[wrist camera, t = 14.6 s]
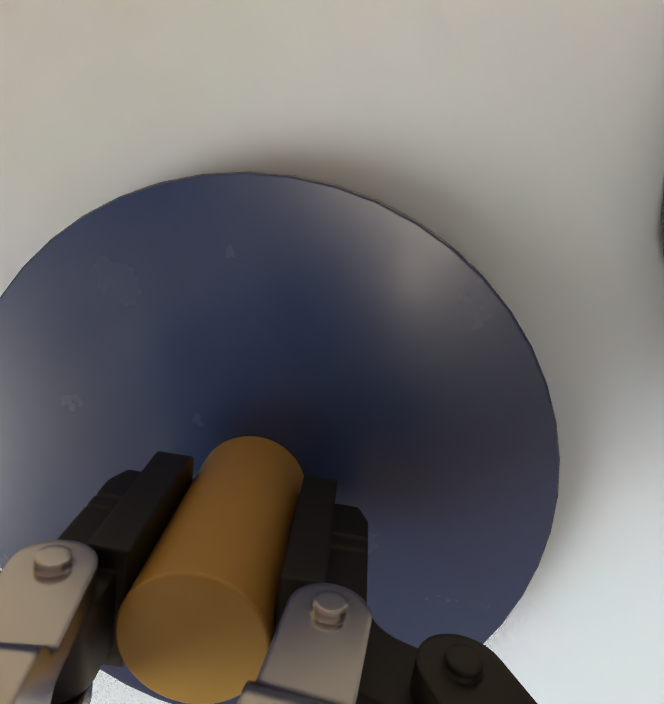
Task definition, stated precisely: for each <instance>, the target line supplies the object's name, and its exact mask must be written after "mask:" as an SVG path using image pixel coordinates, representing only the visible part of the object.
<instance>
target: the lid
mask: <svg viewBox="0 0 664 704" xmlns="http://www.w3.org/2000/svg"><path fill="white" fill-rule="evenodd" d="M158 451H162V452H168V453H175V454H181V455H187V456H192V457H193V459H194V471H193V482H192V484H191V486H190V487H189V489H188V491H187V492H186V494H185V496H184V497H183V499H182V501H181V503H180V504H179V506H178V508H177V509H176V511H175V513H174V515H173V516H172V518H171V520H170V521H169V523H168V525H167V527H166V528H165V530H164V532H163V533H162V535H161V537H160V539H159V540H158V542H157V544H156V545H155V547H154V549H153V551H152V552H151V554H150V556H149V557H148V559H147V561H146V562H145V564H144V566H143V568H142V569H141V571H140V573H139V574H138V576H137V578H136V580H135V581H134V583H133V585H132V586H131V588H130V590H129V592H128V593H127V595H126V597H125V598H124V600H123V602H122V604H121V606H120V608H119V611H118V614H117V617H116V624H115V636H116V642H117V647H118V650H119V653H120V655H121V657H122V659H123V661H124V665H123V667H122V668H121V667H115V666H109V665H103V664H102V666H101V668H100V669H101V670H102V671H104V672H106V673H107V674H109V675H111V676H112V677H114V678H116V679H118V680H119V681H121V682H123V683H124V684H126V685H128V686H130V687H132V688H135V689H137V690H139V691H141V692H143V693H146V694H148V695H150V696H152V697H154V698H157V699H159V700H162V701H165V702H168V703H171V704H236V703H237V701H238V699H239V696H240V694H241V692H242V689H243V687H244V685H245V684H246V682H247V681H248V680H252V681H256V679H257V676H258V674H259V671H260V669H261V667H262V664H263V662H264V659H265V657H266V654H267V652H268V649H269V647H270V644H271V642H272V639H273V637H274V633H275V625H274V620H275V613H276V606H277V599H278V592H279V585H280V578H281V573H282V569H283V564H284V560H285V556H286V552H287V547H288V543H289V539H290V534H291V530H292V526H293V521H294V517H295V513H296V508H297V504H298V500H299V495H300V491H301V487H302V482H303V478H304V475H309V476H315V477H321V478H327V479H333V480H337V489H336V497H335V504H341V505H348V506H354V507H359V509H360V510H361V512H362V513H363V515H364V516H365V518H366V519H367V521H368V553H367V554H368V570H367V604H368V606H369V608H370V610H371V615H372V618H373V620H374V621H375V622H376V624H377V625H378V626H379V627H380V628H381V629H383V630H384V631H385V632H386V633H388V634H389V635H391V636H392V637H394V638H396V639H398V640H400V641H402V642H404V643H407V644H409V645H412V646H414V647H416V648H419V646H420V645H421V643H422V642H423V641H424V640H426V639H427V638H429V637H431V636H434V635H437V634H457V635H462V636H465V637H468V638H471V639H474V640H476V641H478V642H480V643H482V644H483V643H484V642H485V641H486V640H487V639H488V638H489V637H490V636H491V635H492V634H493V633H494V632H495V631H496V630H497V629H498V628H499V627H500V626H501V624H502V623H503V622H504V621H505V619H506V618H507V616H508V615H509V614H510V612H511V611H512V609H513V608H514V607H515V605H516V604H517V603H518V601H519V600H520V598H521V597H522V596H523V594H524V592H525V590H526V588H527V586H528V584H529V582H530V581H531V579H532V577H533V575H534V573H535V571H536V569H537V567H538V565H539V563H540V560H541V557H542V554H543V552H544V549H545V546H546V543H547V540H548V538H549V535H550V532H551V528H552V523H553V518H554V513H555V508H556V503H557V498H558V484H559V465H560V456H559V446H558V435H557V425H556V419H555V415H554V411H553V407H552V403H551V398H550V394H549V390H548V386H547V383H546V380H545V378H544V376H543V373H542V371H541V368H540V366H539V363H538V361H537V358H536V356H535V353H534V351H533V349H532V346H531V345H530V343H529V341H528V339H527V338H526V336H525V334H524V333H523V331H522V329H521V327H520V326H519V324H518V322H517V321H516V319H515V317H514V316H513V314H512V312H511V311H510V309H509V308H508V307H507V306H506V304H505V303H504V302H503V301H502V299H501V298H500V297H499V295H498V294H497V293H496V292H495V290H494V289H493V288H492V287H491V285H490V284H489V283H488V282H487V280H486V279H485V278H484V277H483V276H482V275H481V274H480V273H479V272H478V271H477V270H476V269H475V268H474V267H473V266H472V265H471V264H469V263H468V262H467V261H466V260H465V259H464V258H463V257H462V256H461V255H460V254H459V253H458V252H457V251H456V250H455V249H454V248H453V247H452V246H450V245H449V244H448V243H446V242H445V241H444V240H442V239H441V238H439V237H438V236H437V235H435V234H434V233H432V232H431V231H430V230H428V229H427V228H425V227H424V226H423V225H421V224H420V223H419V222H417V221H416V220H414V219H412V218H410V217H408V216H406V215H404V214H403V213H401V212H399V211H397V210H395V209H393V208H391V207H389V206H388V205H386V204H384V203H382V202H380V201H378V200H376V199H373V198H370V197H368V196H365V195H362V194H359V193H357V192H354V191H351V190H349V189H346V188H343V187H341V186H338V185H334V184H330V183H325V182H321V181H316V180H312V179H307V178H303V177H298V176H294V175H283V174H271V173H259V172H233V173H215V174H201V175H196V176H191V177H185V178H180V179H175V180H170V181H165V182H160V183H157V184H154V185H151V186H148V187H146V188H143V189H140V190H137V191H134V192H131V193H128V194H126V195H123V196H120V197H118V198H116V199H114V200H112V201H110V202H108V203H106V204H105V205H103V206H101V207H99V208H97V209H95V210H93V211H91V212H89V213H87V214H85V215H83V216H82V217H81V218H79V219H78V220H77V221H75V222H74V223H72V224H71V225H70V226H68V227H67V228H66V229H64V230H63V231H61V232H60V233H59V234H57V235H56V236H55V237H53V238H52V239H51V240H50V241H49V242H48V243H46V244H45V245H44V246H43V247H42V248H41V249H40V250H39V251H38V252H37V253H36V254H35V255H34V256H33V257H32V258H31V259H30V260H29V261H28V262H27V263H26V264H25V265H24V266H23V267H22V269H21V270H20V271H19V273H18V274H17V275H16V277H15V278H14V279H13V281H12V282H11V284H10V285H9V286H8V288H7V289H6V290H5V292H4V293H3V294H2V296H1V297H0V567H1V569H2V570H3V568H4V567H5V565H6V564H7V562H8V561H9V560H10V559H11V557H12V556H13V555H15V554H16V553H17V552H18V551H20V550H22V549H23V548H25V547H28V546H30V545H32V544H35V543H39V542H43V541H48V540H57V539H58V538H59V537H60V535H61V534H62V533H63V532H64V531H65V530H66V528H67V527H68V526H69V525H70V524H71V523H72V521H73V520H74V519H75V518H76V517H77V516H78V514H79V513H80V512H81V511H82V510H83V509H84V508H85V507H87V504H88V503H89V502H90V501H91V499H92V498H93V497H94V496H96V495H97V492H98V491H99V490H100V489H101V488H102V487H103V485H104V484H105V483H106V482H107V481H108V480H109V479H111V478H112V477H114V476H116V475H118V474H120V473H122V472H124V471H126V470H128V469H129V470H135V471H141V472H142V470H143V469H144V468H145V466H146V465H147V464H148V463H149V461H150V460H151V459H152V457H153V456H154V455H155V453H156V452H158Z"/></svg>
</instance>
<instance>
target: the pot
mask: <svg viewBox="0 0 664 704" xmlns="http://www.w3.org/2000/svg"><path fill="white" fill-rule="evenodd" d="M662 235H663V255H664V194H663V205H662Z"/></svg>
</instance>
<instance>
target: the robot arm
mask: <svg viewBox="0 0 664 704" xmlns="http://www.w3.org/2000/svg"><path fill="white" fill-rule="evenodd" d="M193 471H194V459H193V457H192V456H187V455H181V454H175V453H168V452H162V451H158V452H156V453H155V455H154V456H153V457H152V459H151V460H150V461H149V463H148V464H147V465H146V466H145V468H144V469H143V470H142V472H141V471H135V470H129V469H128V470H126V471H124V472H122V473H120V474H118V475H116V476H114V477H112V478H111V479H109V480H108V481H107V482H106V483H105V484H104V485H103V487H102V488H101V489H100V490H99V491H98V492H97V495H96V496H94V497H93V498H92V499H91V501H90V502H89V503H88V504H87V507H85V508H84V509H83V510H82V511H81V512H80V513H79V514H78V516H77V517H76V518H75V519H74V520H73V521H72V523H71V524H70V525H69V526H68V527H67V528H66V530H65V531H64V532H63V533H62V534H61V535H60V537H59V538H58V539H57V540H48V541H43V542H39V543H35V544H32V545H30V546H28V547H25V548H23V549H22V550H20V551H18V552H17V553H16V554H15V555H13V556H12V557H11V559H10V560H9V561H8V562H7V564H6V565H5V567H4V568H3V570H1V571H0V704H90V702H91V698H92V684H93V680H94V679H95V677H96V675H97V673H98V671H99V669H100V668H101V666H102V664H103V665H109V666H115V667H121V668H122V667H123V665H124V661H123V659H122V657H121V655H120V653H119V650H118V647H117V642H116V636H115V624H116V617H117V614H118V611H119V608H120V606H121V604H122V602H123V600H124V598H125V597H126V595H127V593H128V592H129V590H130V588H131V586H132V585H133V583H134V581H135V580H136V578H137V576H138V574H139V573H140V571H141V569H142V568H143V566H144V564H145V562H146V561H147V559H148V557H149V556H150V554H151V552H152V551H153V549H154V547H155V545H156V544H157V542H158V540H159V539H160V537H161V535H162V533H163V532H164V530H165V528H166V527H167V525H168V523H169V521H170V520H171V518H172V516H173V515H174V513H175V511H176V509H177V508H178V506H179V504H180V503H181V501H182V499H183V497H184V496H185V494H186V492H187V491H188V489H189V487H190V486H191V484H192V482H193ZM336 489H337V480H333V479H327V478H321V477H315V476H309V475H304V478H303V482H302V487H301V491H300V495H299V500H298V504H297V508H296V513H295V517H294V521H293V526H292V530H291V534H290V539H289V543H288V547H287V552H286V556H285V560H284V564H283V569H282V573H281V578H280V585H279V592H278V599H277V606H276V613H275V620H274V625H275V633H274V637H273V639H272V642H271V644H270V647H269V649H268V652H267V654H266V657H265V659H264V662H263V664H262V667H261V669H260V671H259V674H258V676H257V679H256V681H252V680H248V681H247V682H246V684H245V685H244V687H243V689H242V692H241V694H240V696H239V699H238V701H237V703H236V704H537V703H536V702H535V700H534V699H533V698H532V697H531V696H530V694H529V693H528V692H527V691H526V690H525V688H524V687H523V686H522V685H521V684H520V682H519V681H518V680H517V679H516V678H515V676H514V675H513V674H512V673H511V672H510V670H509V669H508V668H507V667H506V666H505V664H504V663H503V662H502V661H501V660H500V658H499V657H498V656H497V655H496V654H495V653H494V652H493V651H491V650H490V649H489V648H488V647H486V646H485V645H483V644H482V643H480V642H478V641H476V640H474V639H471V638H468V637H465V636H462V635H457V634H437V635H434V636H431V637H429V638H427V639H426V640H424V641H423V642H422V643H421V645H420V646H419V648H416V647H414V646H412V645H409V644H407V643H404V642H402V641H400V640H398V639H396V638H394V637H392V636H391V635H389V634H388V633H386V632H385V631H384V630H383V629H381V628H380V627H379V626H378V625H377V624H376V622H375V621H374V620H373V618H372V615H371V610H370V608H369V606H368V604H367V570H368V554H367V553H368V521H367V519H366V518H365V516H364V515H363V513H362V512H361V510H360V509H359V507H354V506H348V505H341V504H335V497H336Z"/></svg>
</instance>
